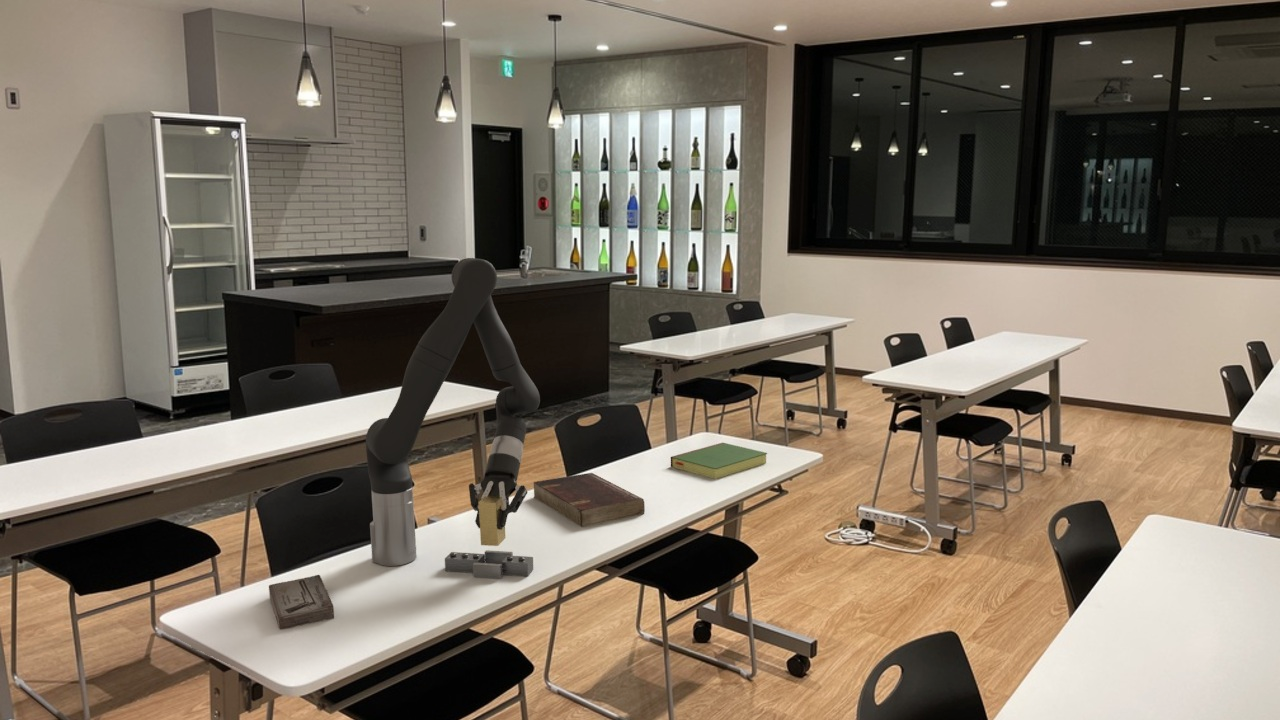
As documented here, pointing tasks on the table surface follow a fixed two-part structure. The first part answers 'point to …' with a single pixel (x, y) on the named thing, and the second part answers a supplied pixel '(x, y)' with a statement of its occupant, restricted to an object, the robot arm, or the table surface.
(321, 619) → the box
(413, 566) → the table surface
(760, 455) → the hardcover book
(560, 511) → the hardback book
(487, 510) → the brass rectangular block
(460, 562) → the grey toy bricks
